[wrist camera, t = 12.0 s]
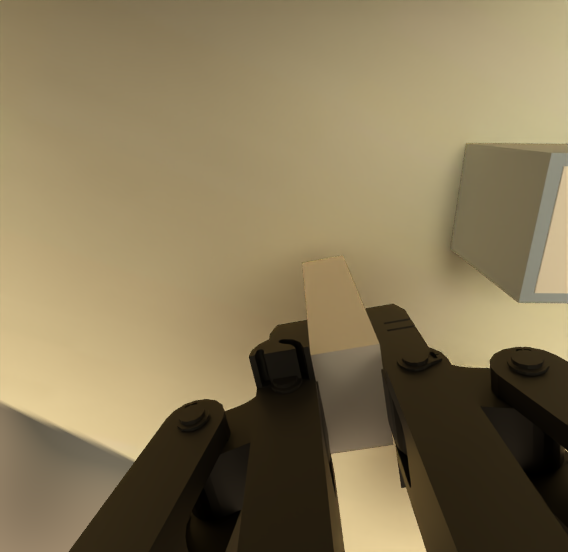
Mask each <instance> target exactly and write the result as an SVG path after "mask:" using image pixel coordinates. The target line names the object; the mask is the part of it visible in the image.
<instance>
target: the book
mask: <svg viewBox="0 0 568 552" xmlns="http://www.w3.org/2000/svg"><path fill="white" fill-rule="evenodd" d="M450 249H451V250H452V251H453V252H455V253H456V254H457V255H458V256H460V257H461V258H462V259H464V260H465V261H466V262H467V263H469V264H470V265H471V266H472V267H474V268H475V269H476V270H478V271H479V272H480V273H481V274H483V275H484V276H485V277H486V278H488V279H489V280H490V281H492V282H493V283H494V284H495V285H497V286H498V287H499V288H500V289H502V290H503V291H504V292H506V293H507V294H508V295H509V296H511V297H512V298H513V299H514V300H516V301H517V302H518V303H568V144H507V143H466V148H465V155H464V162H463V168H462V175H461V181H460V188H459V195H458V201H457V208H456V215H455V221H454V228H453V234H452V241H451V248H450Z"/></svg>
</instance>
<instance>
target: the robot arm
mask: <svg viewBox="0 0 568 552" xmlns="http://www.w3.org/2000/svg"><path fill="white" fill-rule="evenodd" d="M302 267H303V278H304V289H305V300H306V311H307V320H304V321H298V322H293V323H287V324H281V325H277V326H276V327H275V329H274V330H273V331H272V332H271V334H270V338H269V340H267V341H265V342H263V343H261V344H259V345H258V346H257V347H255V348H254V349H253V350H252V351H251V353H250V355H249V359H250V363H251V367H252V371H253V375H254V379H255V382H256V386H257V393H256V397H255V398H253V399H252V400H250V401H249V402H247V403H245V404H243V405H240V406H238V407H236V408H233V409H230V410H228V411H224V408H223V406H222V404H220V403H219V402H217V401H215V400H209V399H204V400H197V401H193V402H191V403H187V404H185V405H183V406H182V407H180V408H178V409H177V410H175V411H174V412H173V413H172V414H171V415H170V416H169V417H168V418H167V419H166V420H165V421H164V423H163V424H162V426H161V427H160V428H159V430H158V431H157V432H156V434H155V435H154V436H153V438H152V439H151V440H150V442H149V443H148V445H147V446H146V447H145V449H144V450H143V451H142V453H141V454H140V455H139V457H138V458H137V460H136V461H135V462H134V464H133V465H132V466H131V468H130V469H129V471H128V472H127V473H126V474H125V476H124V477H123V479H122V480H121V481H120V483H119V484H118V485H117V487H116V488H115V489H114V491H113V492H112V494H111V495H110V496H109V498H108V499H107V500H106V502H105V503H104V504H103V506H102V507H101V508H100V510H99V511H98V513H97V514H96V515H95V517H94V518H93V519H92V521H91V522H90V523H89V525H88V526H87V528H86V529H85V530H84V532H83V533H82V534H81V536H80V537H79V539H78V540H77V541H76V543H75V544H74V545H73V547H72V548H71V549H70V551H69V552H345V550H344V542H343V535H342V527H341V519H340V512H339V504H338V497H337V489H336V482H335V474H334V468H333V463H332V458H331V454H333V453H340V452H347V451H354V450H360V449H367V448H374V447H381V446H388V445H393V439H392V434H393V437H394V440H395V444H396V451H397V459H398V466H399V474H400V481H401V488H404V487H406V489H407V492H408V495H409V498H410V501H411V504H412V507H413V511H414V514H415V517H416V520H417V523H418V526H419V529H420V532H421V536H422V539H423V542H424V545H425V548H426V551H427V552H568V452H567V451H568V362H567V361H566V360H564V359H562V358H560V357H558V356H557V355H554V354H552V353H549V352H547V351H544V350H540V349H535V348H531V347H514V348H509V349H503V350H501V351H499V352H497V353H495V354H494V355H493V357H492V358H491V359H490V368H468V367H459V366H455V365H451V363H450V362H449V360H448V359H447V357H446V356H445V355H443V354H442V353H441V352H440V351H437V350H435V349H432V348H429V347H428V346H427V344H426V342H425V341H424V339H423V338H422V336H421V335H420V333H419V331H418V330H417V328H416V327H415V325H414V323H413V322H412V320H410V317H409V316H408V314H407V312H406V311H405V310H404V309H402V308H400V307H398V306H397V305H395V304H389V305H383V306H378V307H372V308H366V309H365V308H364V305H363V303H362V300H361V298H360V296H359V293H358V291H357V288H356V286H355V284H354V281H353V279H352V276H351V274H350V272H349V269H348V267H347V264H346V262H345V260H344V257H343V255H341V256H335V257H330V258H325V259H319V260H314V261H308V262H303V263H302ZM565 449H566V450H567V451H566V450H565Z"/></svg>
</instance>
